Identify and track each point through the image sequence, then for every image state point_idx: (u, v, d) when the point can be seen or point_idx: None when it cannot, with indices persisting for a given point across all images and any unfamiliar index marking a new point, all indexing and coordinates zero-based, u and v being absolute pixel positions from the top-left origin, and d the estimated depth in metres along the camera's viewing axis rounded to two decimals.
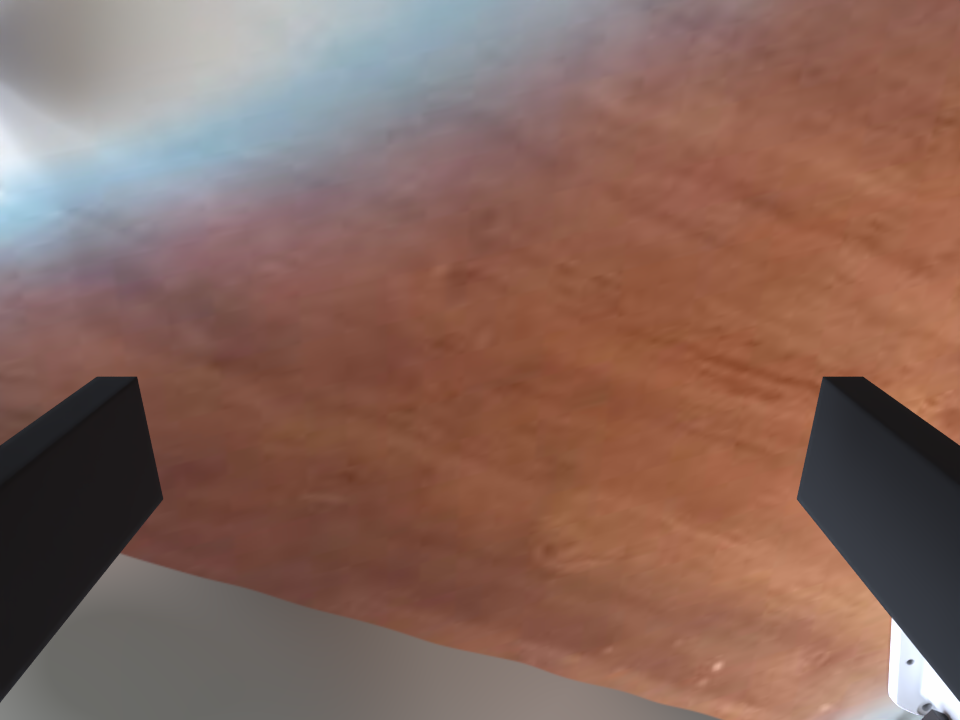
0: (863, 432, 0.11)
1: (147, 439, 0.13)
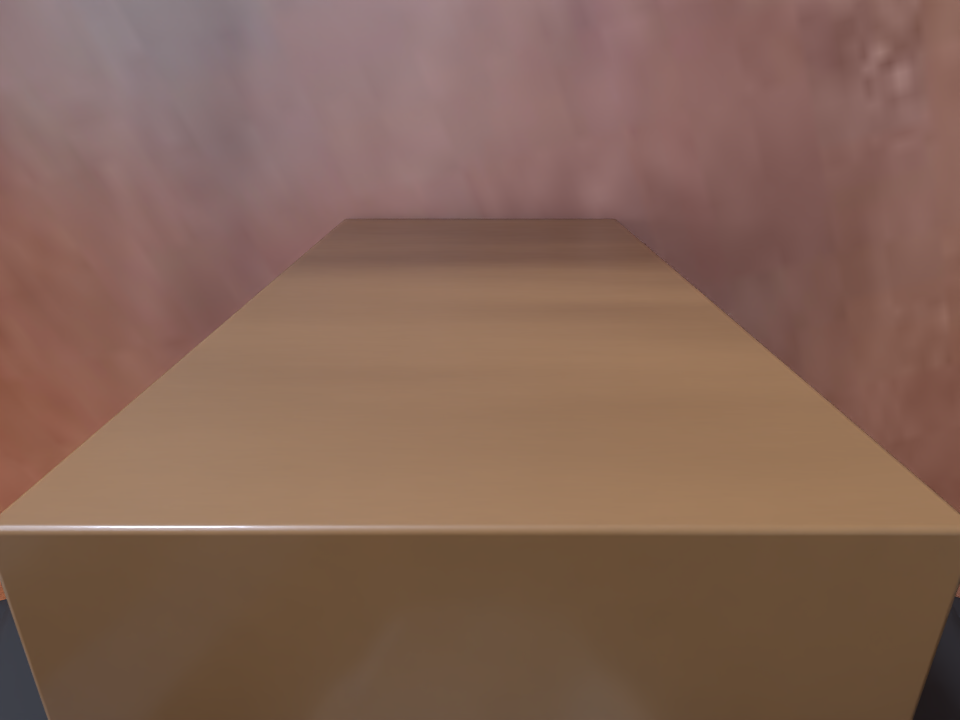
0: None
1: None
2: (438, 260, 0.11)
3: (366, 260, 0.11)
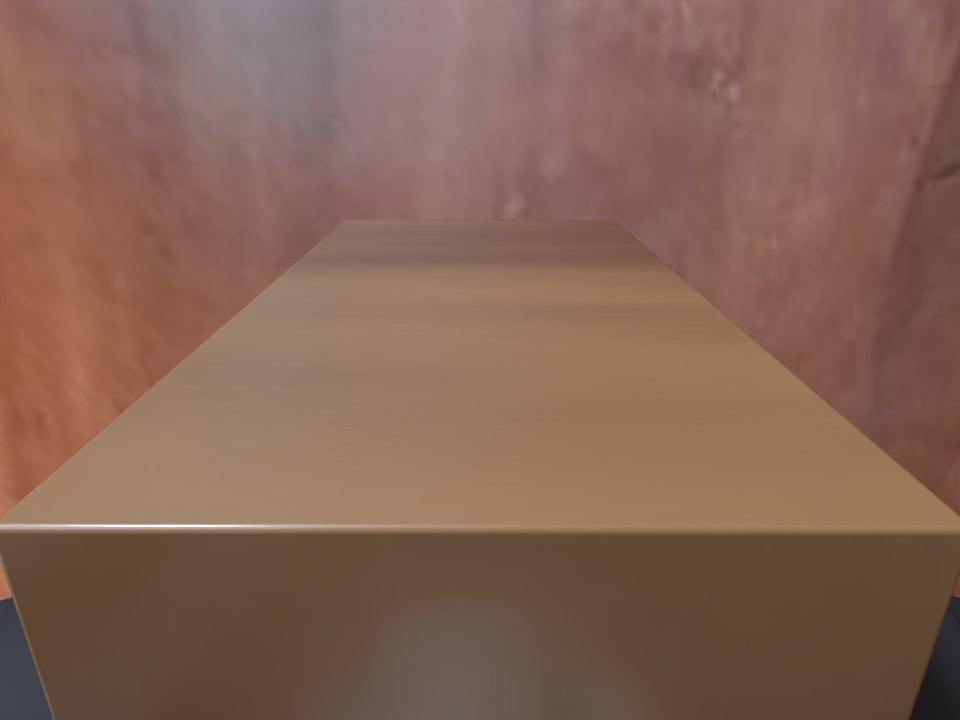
0: None
1: None
2: (438, 261, 0.11)
3: (366, 261, 0.11)
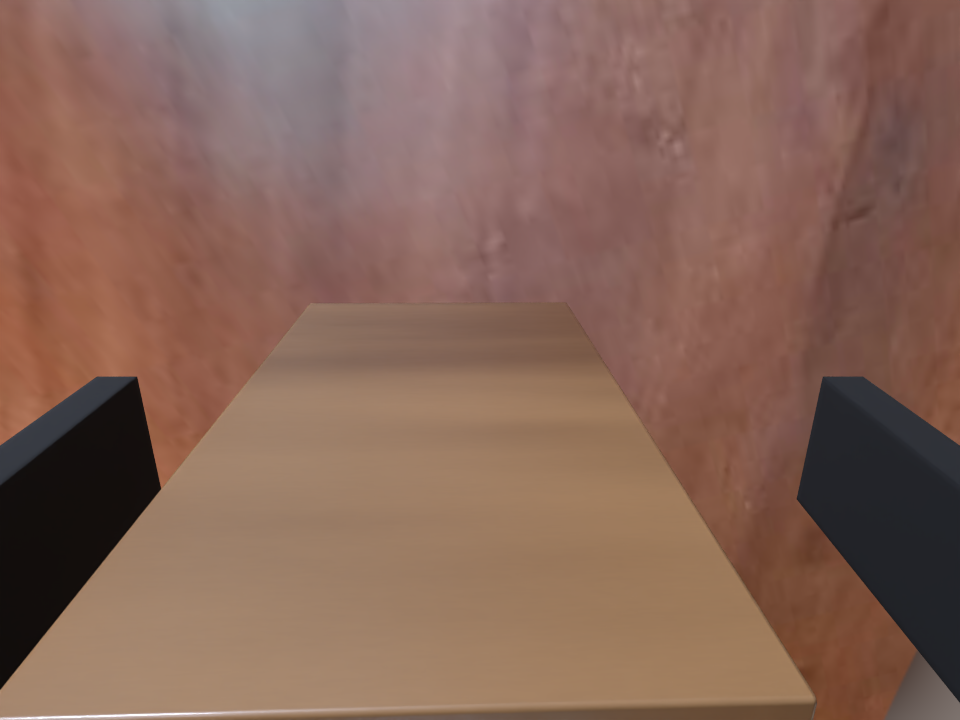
0: (863, 432, 0.11)
1: (148, 439, 0.13)
2: (395, 363, 0.12)
3: (327, 364, 0.12)
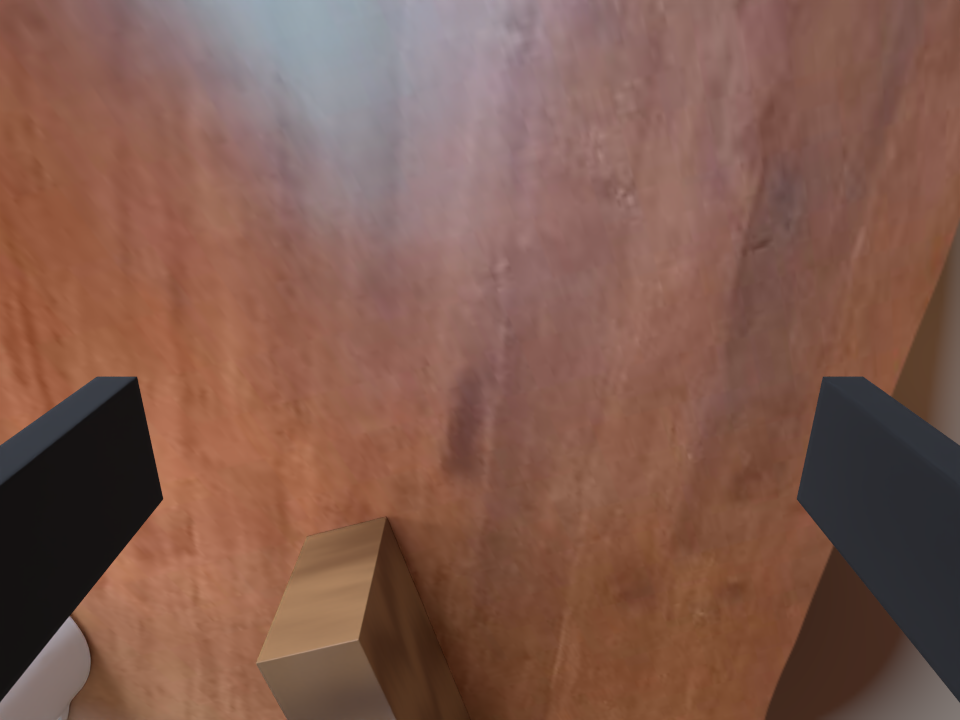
0: (862, 432, 0.11)
1: (148, 438, 0.13)
2: (324, 567, 0.44)
3: (307, 571, 0.44)
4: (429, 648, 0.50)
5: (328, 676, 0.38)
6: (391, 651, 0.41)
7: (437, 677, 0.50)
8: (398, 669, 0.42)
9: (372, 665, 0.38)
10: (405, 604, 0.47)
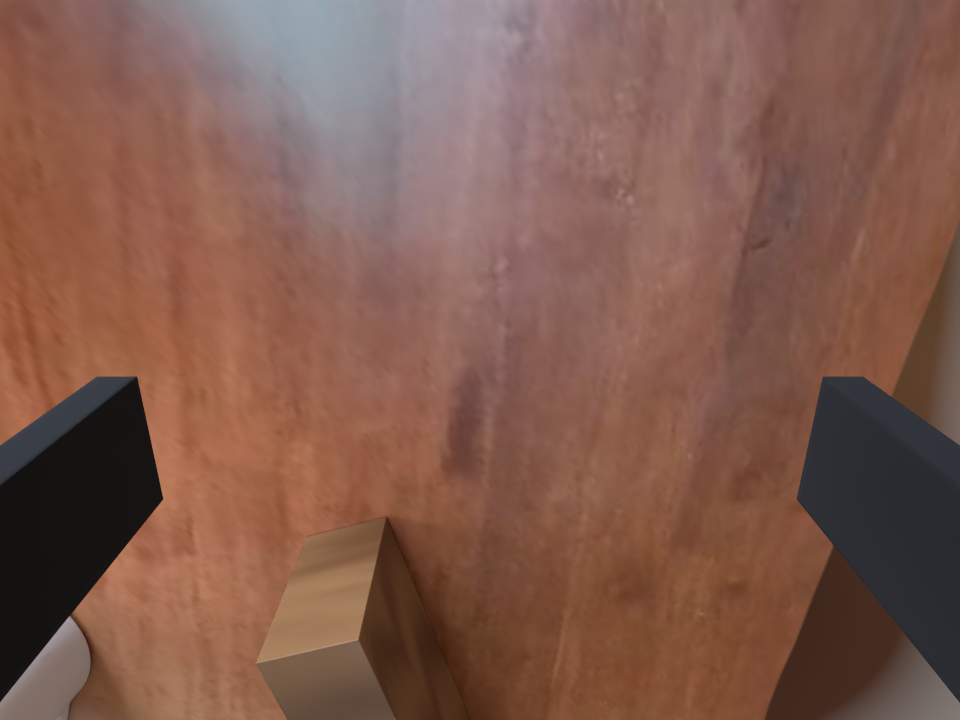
0: (862, 432, 0.11)
1: (148, 438, 0.13)
2: (324, 567, 0.44)
3: (307, 571, 0.44)
4: (429, 648, 0.50)
5: (328, 676, 0.38)
6: (391, 651, 0.41)
7: (437, 677, 0.50)
8: (398, 669, 0.42)
9: (372, 665, 0.38)
10: (405, 604, 0.47)
